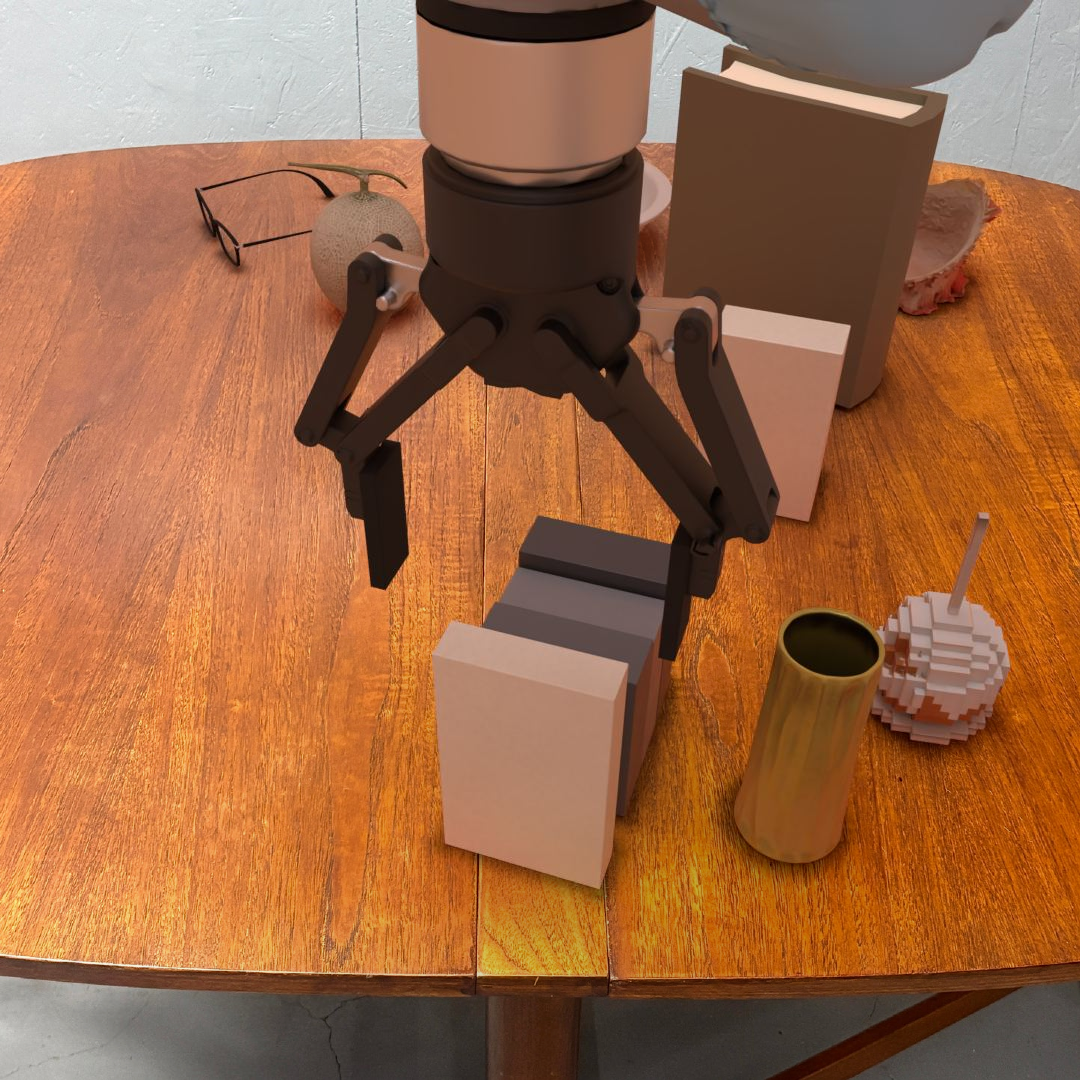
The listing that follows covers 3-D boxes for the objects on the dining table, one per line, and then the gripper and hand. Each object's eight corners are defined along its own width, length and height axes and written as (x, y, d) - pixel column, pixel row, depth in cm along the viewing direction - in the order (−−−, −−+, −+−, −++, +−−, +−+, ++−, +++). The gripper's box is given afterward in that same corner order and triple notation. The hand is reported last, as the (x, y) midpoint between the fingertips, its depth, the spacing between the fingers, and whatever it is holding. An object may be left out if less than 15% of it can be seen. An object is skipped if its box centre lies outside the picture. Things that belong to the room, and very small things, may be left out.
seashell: (875, 244, 127) (782, 276, 119) (892, 145, 121) (795, 171, 113) (1011, 292, 116) (917, 330, 108) (1037, 186, 110) (940, 218, 102)
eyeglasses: (193, 218, 126) (186, 183, 124) (329, 191, 132) (325, 157, 129) (238, 280, 115) (231, 243, 112) (384, 248, 121) (381, 212, 118)
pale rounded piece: (858, 649, 76) (907, 466, 66) (979, 666, 75) (1047, 482, 65) (861, 738, 70) (915, 551, 61) (993, 757, 69) (1069, 570, 60)
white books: (808, 522, 86) (843, 354, 77) (691, 498, 88) (711, 331, 79) (820, 475, 91) (854, 311, 82) (708, 453, 93) (729, 291, 84)
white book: (599, 889, 62) (614, 700, 52) (444, 843, 64) (431, 654, 54) (612, 852, 64) (629, 663, 54) (461, 809, 66) (451, 619, 56)
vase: (859, 856, 64) (916, 677, 55) (754, 874, 63) (795, 695, 54) (817, 770, 68) (863, 592, 59) (718, 786, 67) (750, 607, 58)
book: (890, 373, 103) (959, 89, 87) (856, 416, 97) (922, 121, 81) (699, 314, 111) (729, 43, 95) (657, 350, 105) (682, 70, 89)
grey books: (624, 817, 65) (637, 677, 58) (476, 776, 68) (471, 636, 60) (669, 684, 73) (686, 546, 66) (536, 651, 76) (537, 514, 68)
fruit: (455, 302, 112) (449, 151, 103) (374, 349, 105) (359, 192, 95) (376, 271, 117) (363, 124, 107) (294, 315, 110) (272, 162, 100)
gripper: (923, 152, 38) (815, 613, 52) (257, 63, 44) (317, 498, 58) (904, 247, 33) (788, 734, 47) (146, 131, 39) (242, 594, 52)
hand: (527, 604), depth 52 cm, fingers open, 13 cm apart
